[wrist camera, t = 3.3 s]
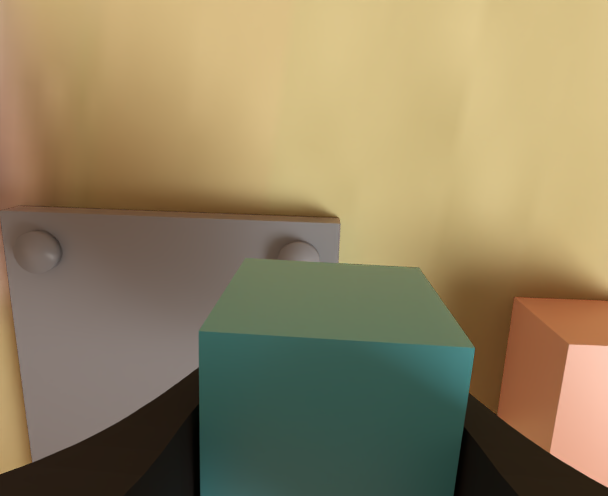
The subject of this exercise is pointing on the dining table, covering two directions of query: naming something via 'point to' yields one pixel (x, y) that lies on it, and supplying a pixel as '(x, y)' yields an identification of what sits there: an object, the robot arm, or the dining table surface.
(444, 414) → the teal brick
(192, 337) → the baseplate
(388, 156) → the dining table surface
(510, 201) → the dining table surface
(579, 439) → the terracotta brick
